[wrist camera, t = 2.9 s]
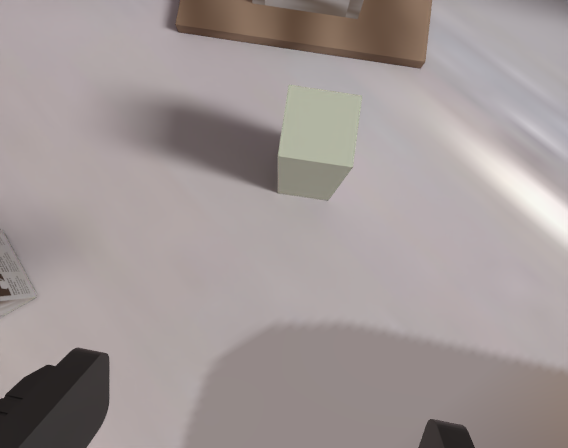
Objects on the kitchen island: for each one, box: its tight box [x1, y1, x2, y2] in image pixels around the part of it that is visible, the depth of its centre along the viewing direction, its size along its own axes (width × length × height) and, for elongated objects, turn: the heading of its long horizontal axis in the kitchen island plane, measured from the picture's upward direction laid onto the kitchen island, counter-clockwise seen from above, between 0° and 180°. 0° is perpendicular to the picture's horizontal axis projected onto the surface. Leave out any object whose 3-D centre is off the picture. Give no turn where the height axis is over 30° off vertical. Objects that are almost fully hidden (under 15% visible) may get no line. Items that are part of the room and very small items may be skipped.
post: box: [278, 85, 362, 201], centre depth 26 cm, size 4×4×10 cm
